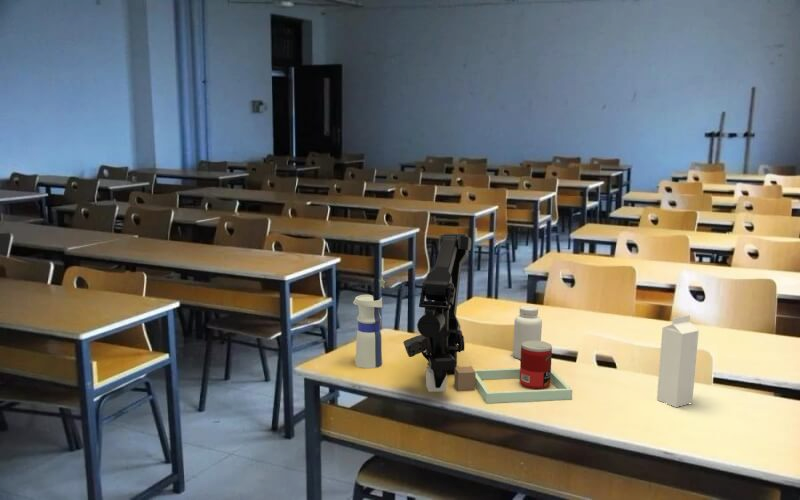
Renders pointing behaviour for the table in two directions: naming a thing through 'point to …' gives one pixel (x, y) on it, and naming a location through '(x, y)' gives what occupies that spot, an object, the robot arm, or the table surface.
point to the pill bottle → (526, 328)
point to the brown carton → (464, 378)
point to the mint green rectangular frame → (519, 396)
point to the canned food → (535, 364)
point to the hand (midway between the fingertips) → (436, 384)
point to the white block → (431, 383)
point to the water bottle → (369, 331)
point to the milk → (677, 362)
